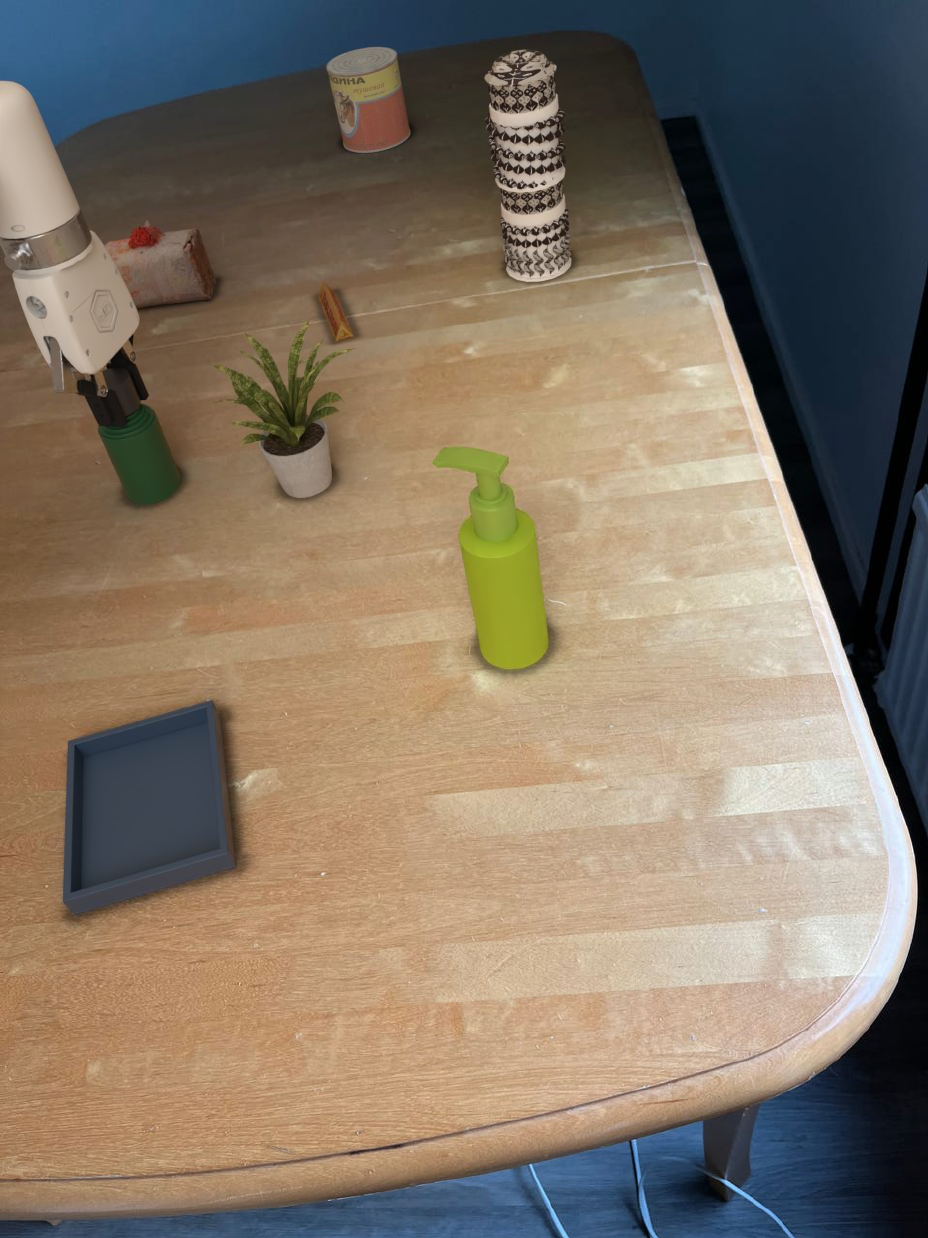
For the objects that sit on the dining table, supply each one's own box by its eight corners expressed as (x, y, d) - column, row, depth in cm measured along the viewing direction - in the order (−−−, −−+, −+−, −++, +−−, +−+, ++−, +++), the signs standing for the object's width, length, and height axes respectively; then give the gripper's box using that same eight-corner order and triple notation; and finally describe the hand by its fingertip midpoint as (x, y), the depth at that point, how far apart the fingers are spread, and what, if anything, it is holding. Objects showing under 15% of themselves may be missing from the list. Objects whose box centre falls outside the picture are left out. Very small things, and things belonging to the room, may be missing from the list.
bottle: (115, 496, 110) (68, 393, 100) (154, 465, 113) (111, 362, 104) (155, 511, 107) (110, 407, 98) (193, 478, 110) (153, 374, 101)
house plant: (378, 425, 112) (345, 289, 100) (393, 503, 103) (358, 363, 91) (251, 453, 112) (203, 320, 100) (254, 534, 102) (201, 397, 91)
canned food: (329, 144, 169) (312, 66, 161) (381, 119, 174) (366, 42, 165) (372, 158, 163) (355, 78, 154) (424, 131, 167) (411, 52, 159)
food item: (114, 317, 138) (84, 249, 131) (128, 288, 144) (100, 220, 137) (210, 305, 137) (186, 235, 130) (221, 275, 142) (198, 207, 135)
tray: (237, 869, 76) (228, 852, 74) (75, 917, 75) (62, 902, 73) (221, 716, 86) (212, 699, 85) (79, 757, 85) (67, 740, 84)
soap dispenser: (487, 610, 90) (454, 425, 76) (559, 629, 88) (539, 441, 73) (458, 658, 87) (417, 474, 73) (532, 678, 84) (505, 492, 70)
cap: (127, 420, 101) (115, 392, 98) (92, 418, 102) (79, 390, 100) (148, 396, 103) (136, 368, 101) (113, 394, 105) (101, 366, 102)
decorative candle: (522, 293, 127) (500, 80, 109) (491, 264, 134) (465, 58, 116) (587, 269, 129) (575, 56, 111) (553, 242, 135) (537, 36, 117)
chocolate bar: (335, 343, 125) (330, 327, 124) (317, 299, 134) (313, 283, 132) (355, 337, 126) (351, 321, 124) (336, 294, 134) (332, 278, 132)
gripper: (30, 288, 84) (116, 465, 97) (128, 195, 94) (193, 366, 107) (-44, 287, 86) (50, 460, 99) (59, 196, 96) (132, 363, 109)
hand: (124, 409), depth 103 cm, fingers closed on cap, 3 cm apart
